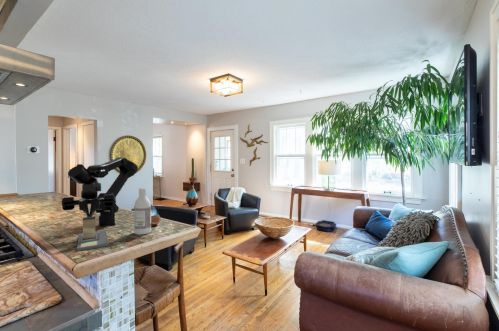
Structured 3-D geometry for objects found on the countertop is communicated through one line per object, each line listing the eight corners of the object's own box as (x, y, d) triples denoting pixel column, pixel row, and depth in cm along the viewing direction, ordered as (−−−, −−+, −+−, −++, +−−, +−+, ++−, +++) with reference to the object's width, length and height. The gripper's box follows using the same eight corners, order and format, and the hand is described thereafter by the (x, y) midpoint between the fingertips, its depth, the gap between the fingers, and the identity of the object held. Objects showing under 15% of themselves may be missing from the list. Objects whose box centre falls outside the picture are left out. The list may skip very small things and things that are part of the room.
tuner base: (80, 236, 104) (80, 227, 104) (106, 232, 109) (106, 224, 109) (77, 251, 87) (77, 240, 87) (108, 246, 92) (107, 236, 92)
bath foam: (151, 233, 108) (151, 188, 107) (134, 235, 105) (134, 189, 104) (150, 229, 114) (150, 186, 114) (134, 231, 111) (133, 187, 111)
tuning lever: (82, 239, 95) (82, 217, 95) (96, 237, 98) (95, 216, 97) (82, 240, 94) (82, 218, 94) (96, 238, 96) (95, 217, 96)
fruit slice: (149, 228, 116) (149, 218, 116) (139, 226, 119) (139, 216, 119) (163, 224, 123) (163, 214, 123) (154, 223, 126) (153, 213, 126)
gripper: (61, 177, 100) (58, 209, 90) (114, 176, 109) (116, 204, 100) (64, 194, 106) (61, 225, 97) (113, 191, 116) (115, 219, 107)
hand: (89, 218), depth 100 cm, fingers closed
